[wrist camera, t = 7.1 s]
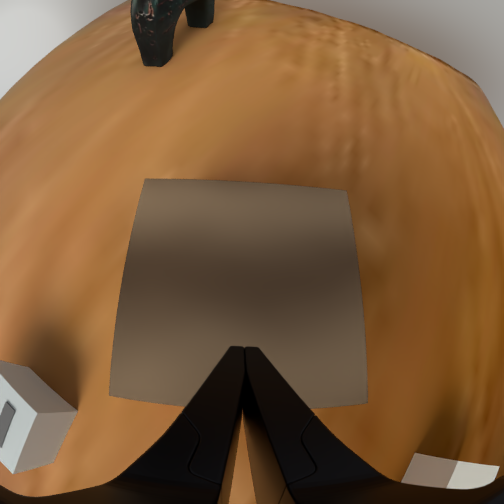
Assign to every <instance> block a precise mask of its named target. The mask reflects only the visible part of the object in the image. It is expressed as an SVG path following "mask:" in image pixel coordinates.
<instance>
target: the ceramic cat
mask: <svg viewBox="0 0 504 504" xmlns="http://www.w3.org/2000/svg"><path fill="white" fill-rule="evenodd" d="M184 8H185V12H186V17H187V23H188V26H190V27H199V28H207V27H208V25H209V24H211V23H212V22H213V19H214V0H132V1H131V23H132V29H133V33H134V36H135V39H136V42H137V45H138V47H139V50H140V53H141V57H142V61H143V64H144V65H145V66H157V67H162V66H163V65H165V64H166V63H167V62H168V61H169V60H170V59H171V57H172V54H173V50H172V47H173V39H174V31H175V27H176V24H177V21H178V19H179V17H180V15H181V13H182V11H183V9H184Z"/></svg>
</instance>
